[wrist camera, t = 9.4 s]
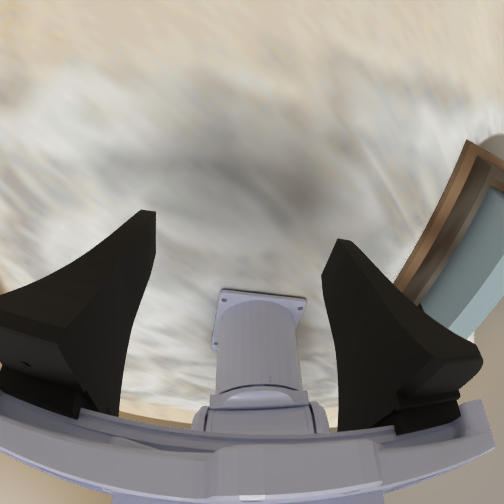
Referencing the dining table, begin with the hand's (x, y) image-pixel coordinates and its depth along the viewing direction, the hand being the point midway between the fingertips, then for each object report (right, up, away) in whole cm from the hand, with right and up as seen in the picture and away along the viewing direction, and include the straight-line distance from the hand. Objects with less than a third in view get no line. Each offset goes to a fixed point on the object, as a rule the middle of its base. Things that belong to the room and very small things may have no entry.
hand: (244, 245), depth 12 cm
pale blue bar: (+20, 0, +11) cm, 23 cm away
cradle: (+20, +1, +12) cm, 23 cm away
